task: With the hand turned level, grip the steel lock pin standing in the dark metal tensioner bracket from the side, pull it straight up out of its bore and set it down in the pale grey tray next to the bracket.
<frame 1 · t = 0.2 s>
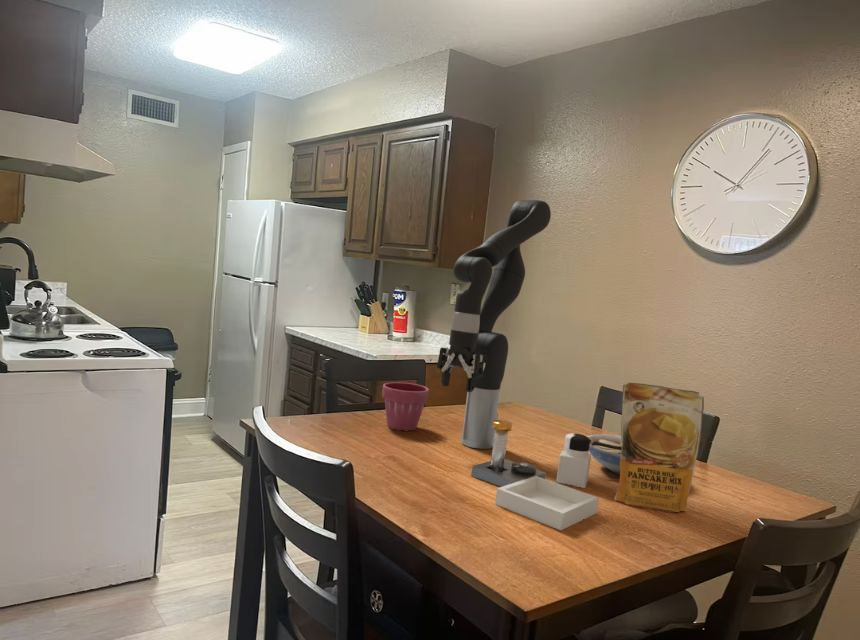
hand: (456, 388, 167), 18 cm above the table, tool pointing down, fingers open, 8 cm apart
lock pin: (495, 478, 150), resting in tensioner bracket
tray: (546, 508, 133), on the table
pancake mix bag: (648, 505, 144), on the table
medicine bottle: (571, 482, 155), on the table
plant pot: (401, 427, 190), on the table
tensioner bracket: (508, 479, 151), on the table
ramen bowl: (623, 472, 169), on the table
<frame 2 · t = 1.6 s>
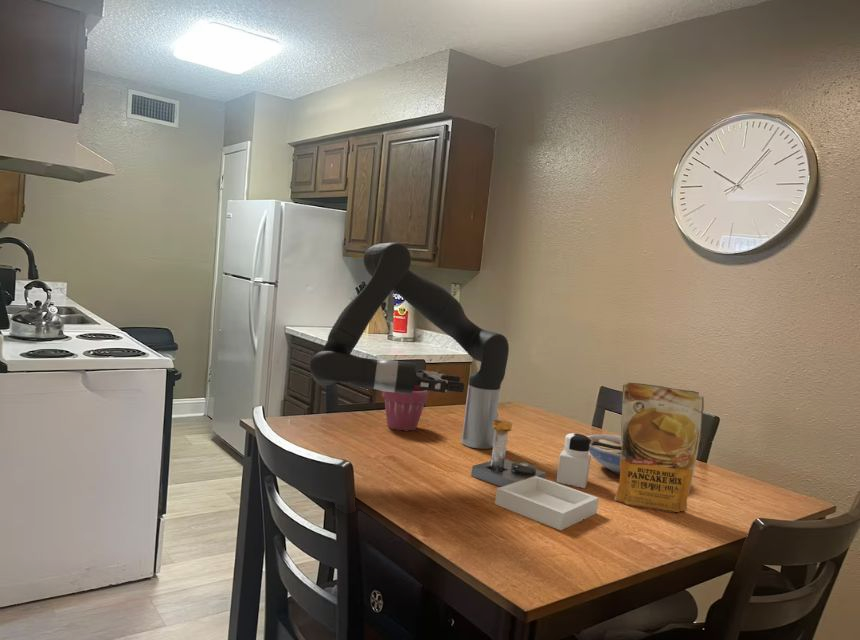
hand: (461, 384, 148), 22 cm above the table, tool horizontal, fingers open, 8 cm apart
nothing on the table moved.
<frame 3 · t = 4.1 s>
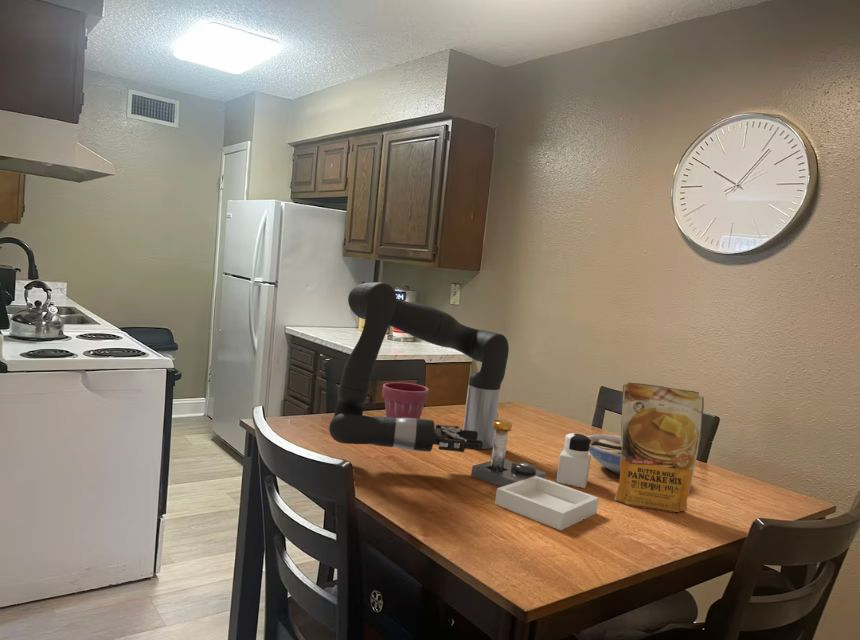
hand: (479, 440, 149), 9 cm above the table, tool horizontal, fingers open, 8 cm apart
nothing on the table moved.
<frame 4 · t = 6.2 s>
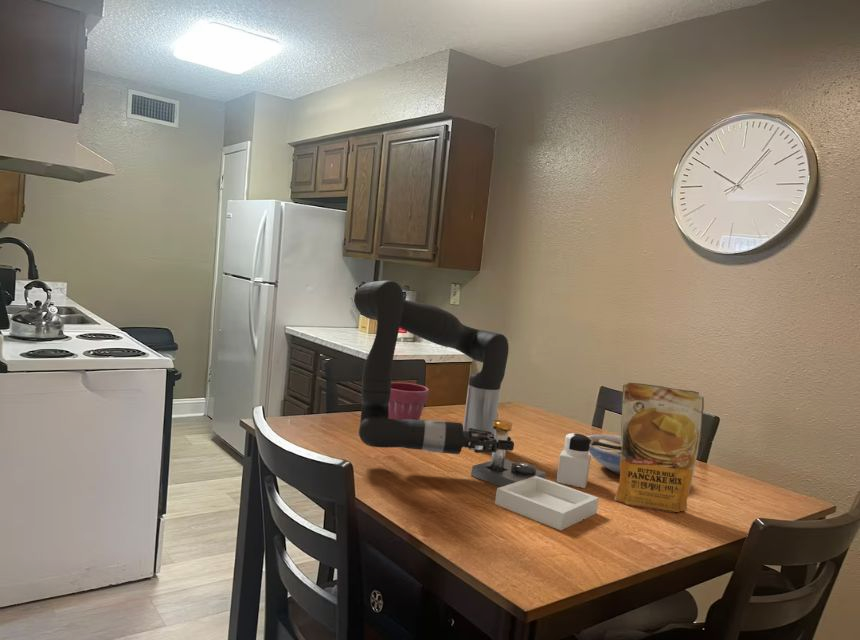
hand: (511, 443, 150), 9 cm above the table, tool horizontal, fingers closed on lock pin, 3 cm apart
lock pin: (495, 478, 150), resting in tensioner bracket, touching gripper
everything else where it was.
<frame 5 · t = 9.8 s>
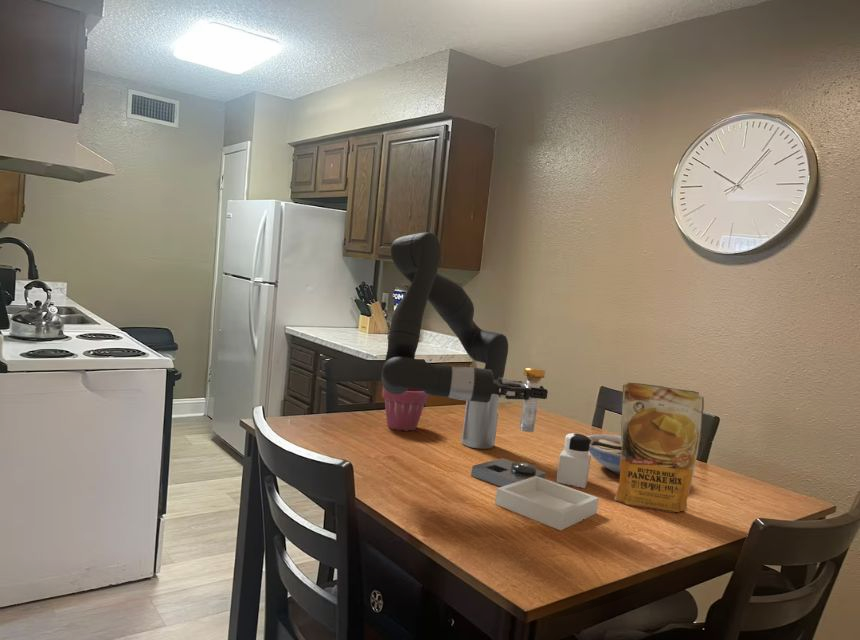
hand: (544, 392, 139), 24 cm above the table, tool horizontal, fingers closed on lock pin, 3 cm apart
lock pin: (526, 430, 140), point 15 cm above the table, touching gripper
everything else where it was.
when the fingers open (11 cm above the table, at t = 13.3 s): lock pin drops 1 cm, resting on tray.
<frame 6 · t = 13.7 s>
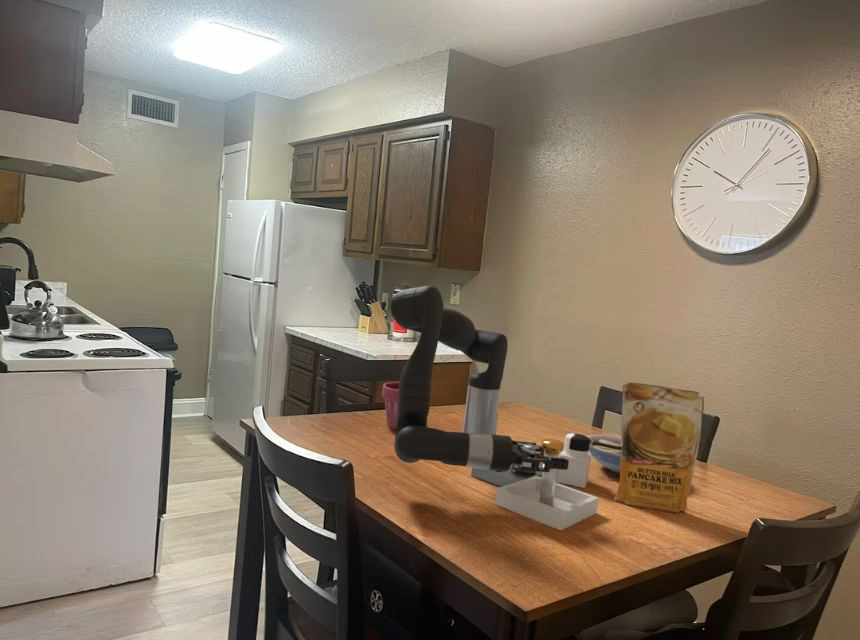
hand: (562, 458, 133), 11 cm above the table, tool horizontal, fingers open, 7 cm apart
lock pin: (546, 504, 133), point 1 cm above the table, touching tray
everything else where it was.
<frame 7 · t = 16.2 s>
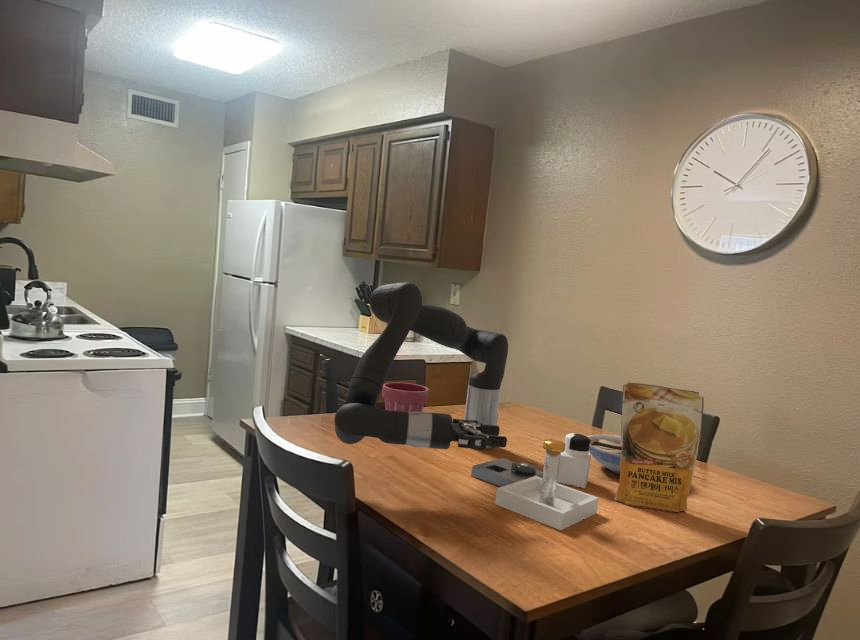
hand: (502, 436, 133), 15 cm above the table, tool horizontal, fingers open, 8 cm apart
nothing on the table moved.
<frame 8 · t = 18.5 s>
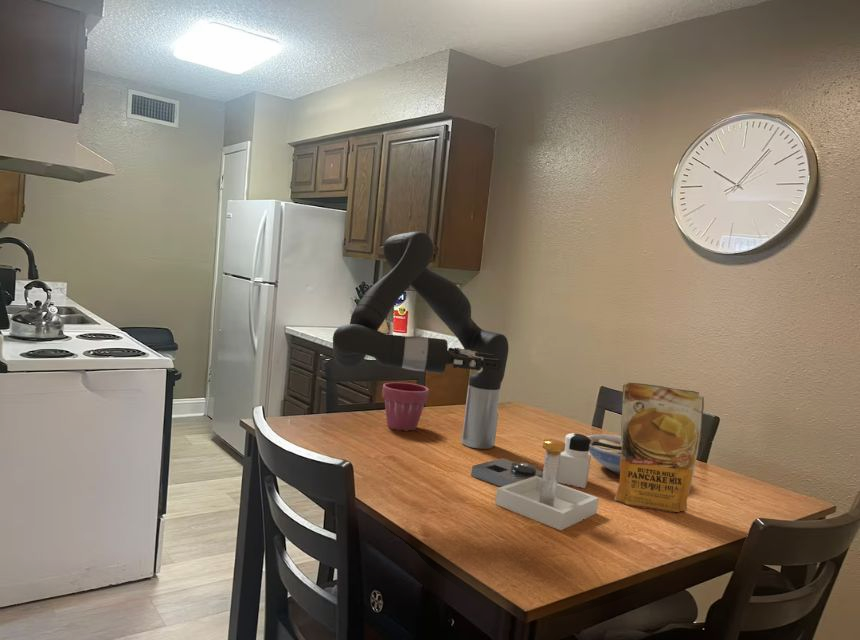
hand: (496, 362, 136), 30 cm above the table, tool horizontal, fingers open, 8 cm apart
nothing on the table moved.
at the end: lock pin inside the target area on the tray (0.1 cm from its centre), point 0.8 cm above the tray's base; the gripper is holding nothing; lock pin touching tray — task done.
